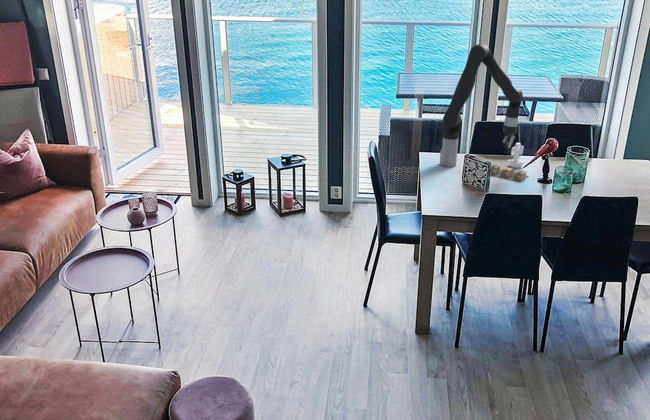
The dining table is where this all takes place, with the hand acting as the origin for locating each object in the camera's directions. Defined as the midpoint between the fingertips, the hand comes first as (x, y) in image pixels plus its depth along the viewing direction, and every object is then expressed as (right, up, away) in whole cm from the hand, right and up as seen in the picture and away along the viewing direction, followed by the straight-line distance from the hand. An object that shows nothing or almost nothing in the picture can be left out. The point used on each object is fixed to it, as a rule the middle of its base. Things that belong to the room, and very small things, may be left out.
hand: (506, 153), depth 356 cm
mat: (+1, -13, +3) cm, 13 cm away
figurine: (+11, -7, +18) cm, 22 cm away
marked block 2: (+7, -15, -2) cm, 16 cm away
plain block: (+1, -13, +3) cm, 13 cm away
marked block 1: (-6, -11, +7) cm, 14 cm away
